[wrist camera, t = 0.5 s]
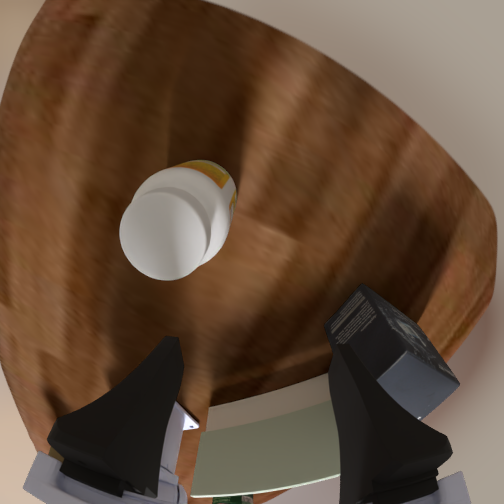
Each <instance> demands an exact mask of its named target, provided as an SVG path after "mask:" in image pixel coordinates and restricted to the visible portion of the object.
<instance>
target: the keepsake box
mask: <svg viewBox="0 0 504 504" xmlns="http://www.w3.org/2000/svg"><path fill="white" fill-rule="evenodd" d="M329 400H331V396H330V391H329V380H328V373H326V374H323V375H320V376H317V377H315V378H312V379H309V380H306V381H303V382H300V383H297V384H294V385H291V386H288V387H285V388H282V389H278V390H275V391H272V392H268V393H265V394H261V395H258V396H254V397H250V398H246V399H243V400H239V401H235V402H230V403H226V404H222V405H217V406H213V407H209V412H208V419H207V426H206V432H207V431H213V430H219V429H224V428H229V427H234V426H239V425H244V424H248V423H253V422H257V421H261V420H265V419H269V418H273V417H277V416H281V415H284V414H288V413H291V412H295V411H298V410H301V409H304V408H308V407H311V406H314V405H317V404H320V403H323V402H326V401H329Z"/></svg>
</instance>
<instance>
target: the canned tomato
mask: <svg viewBox="0 0 504 504" xmlns="http://www.w3.org/2000/svg"><path fill="white" fill-rule="evenodd" d="M212 504H253V494H246V495H236V496H222V497H213V503H212Z"/></svg>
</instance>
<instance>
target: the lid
mask: <svg viewBox="0 0 504 504" xmlns="http://www.w3.org/2000/svg"><path fill="white" fill-rule="evenodd" d="M337 476H340V450H339V437H338V430H337V425H336V420H335V415H334V411H333V406H332V401H331V400H329V401H326V402H323V403H320V404H317V405H314V406H311V407H308V408H304V409H301V410H298V411H295V412H291V413H288V414H284V415H281V416H277V417H273V418H269V419H265V420H261V421H257V422H253V423H248V424H244V425H239V426H234V427H229V428H224V429H219V430H213V431H207V432H201V437H200V443H199V448H198V454H197V460H196V465H195V471H194V477H193V483H192V488H191V494H190V496H192V497H222V496H236V495H246V494H255V493H263V492H270V491H276V490H282V489H287V488H292V487H297V486H302V485H306V484H311V483H315V482H319V481H323V480H327V479H331V478H334V477H337Z"/></svg>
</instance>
